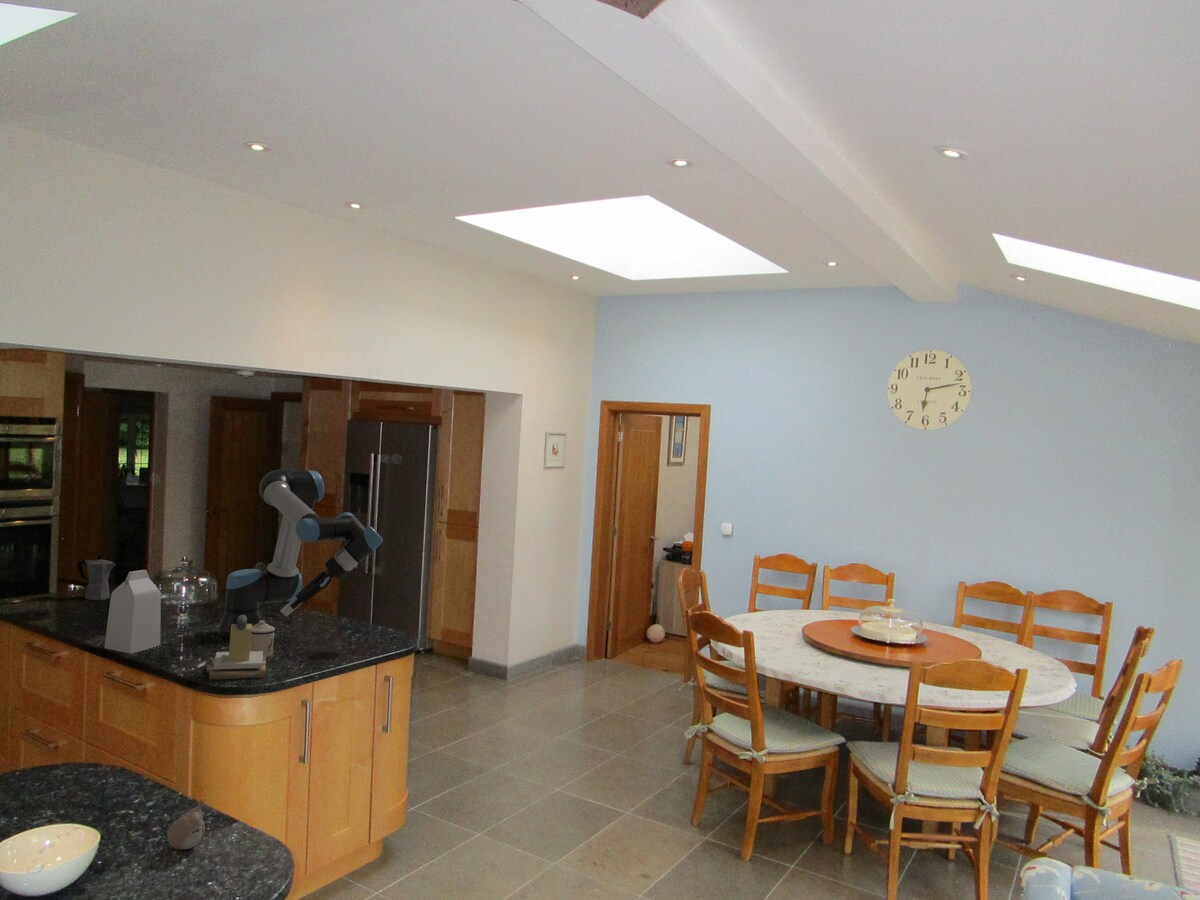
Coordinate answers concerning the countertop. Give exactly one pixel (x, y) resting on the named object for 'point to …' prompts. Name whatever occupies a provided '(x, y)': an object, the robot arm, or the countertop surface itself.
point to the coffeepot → (97, 578)
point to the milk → (134, 615)
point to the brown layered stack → (236, 672)
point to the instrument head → (239, 649)
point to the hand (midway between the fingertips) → (283, 613)
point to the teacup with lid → (262, 638)
